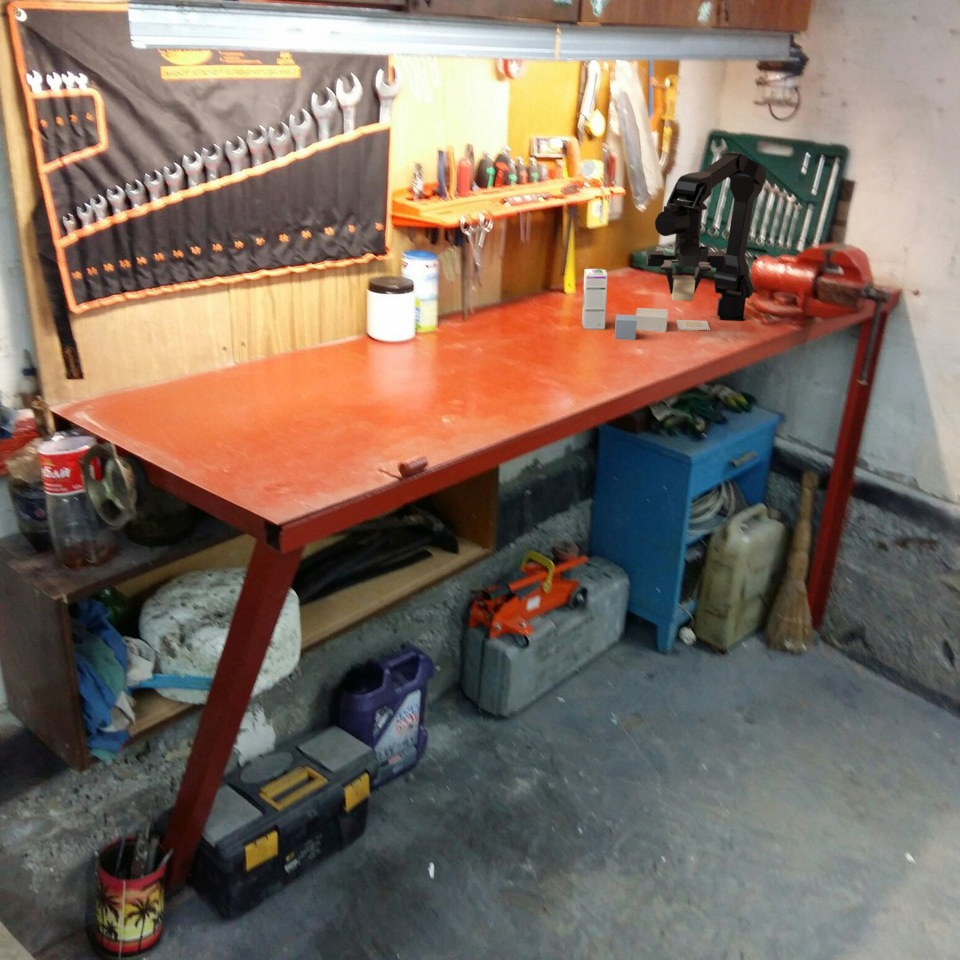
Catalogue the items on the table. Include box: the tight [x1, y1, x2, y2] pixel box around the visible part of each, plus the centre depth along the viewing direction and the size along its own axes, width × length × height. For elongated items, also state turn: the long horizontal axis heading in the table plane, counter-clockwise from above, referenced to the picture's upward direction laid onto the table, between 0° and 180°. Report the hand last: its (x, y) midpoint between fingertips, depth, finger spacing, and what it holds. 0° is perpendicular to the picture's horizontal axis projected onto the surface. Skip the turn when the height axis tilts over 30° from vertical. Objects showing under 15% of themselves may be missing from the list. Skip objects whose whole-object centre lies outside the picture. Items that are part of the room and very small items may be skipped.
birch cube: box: [670, 275, 695, 302], centre depth 244 cm, size 5×5×5 cm
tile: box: [675, 319, 711, 332], centre depth 257 cm, size 8×8×1 cm
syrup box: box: [581, 268, 609, 330], centre depth 253 cm, size 6×6×14 cm
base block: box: [635, 307, 669, 333], centre depth 256 cm, size 8×8×4 cm
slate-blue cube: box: [614, 314, 637, 341], centre depth 247 cm, size 5×5×5 cm
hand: (682, 293), depth 244 cm, fingers closed on birch cube, 5 cm apart
